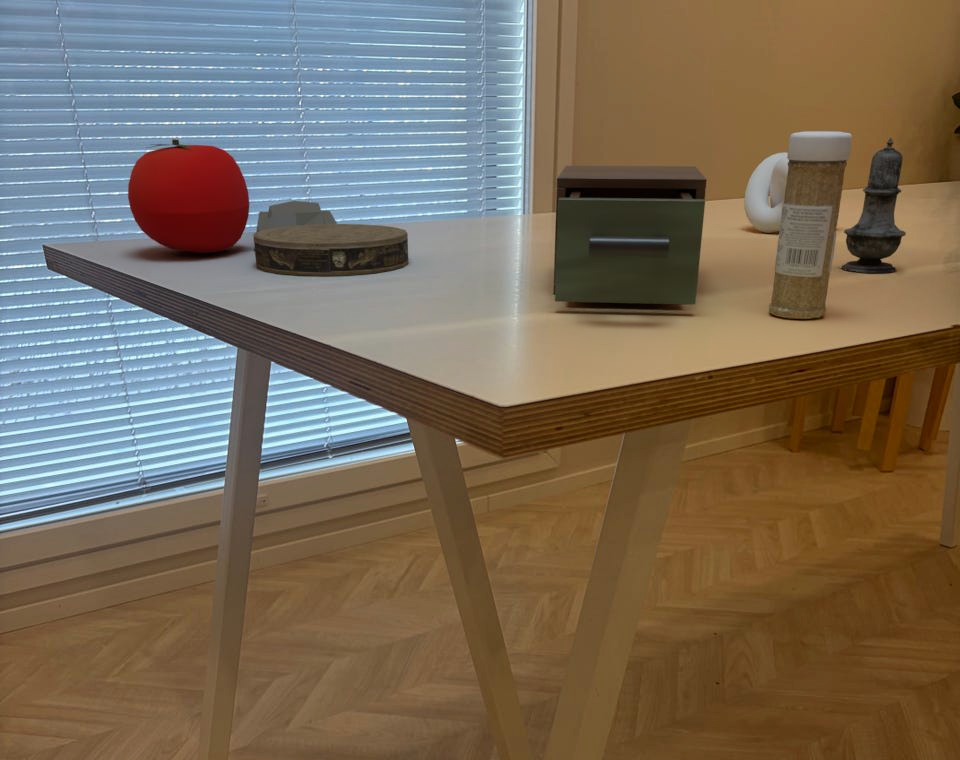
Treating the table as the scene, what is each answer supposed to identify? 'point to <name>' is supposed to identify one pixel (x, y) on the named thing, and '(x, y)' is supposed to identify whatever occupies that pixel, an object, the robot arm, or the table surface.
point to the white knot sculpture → (767, 193)
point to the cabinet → (628, 182)
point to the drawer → (628, 246)
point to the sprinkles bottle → (809, 223)
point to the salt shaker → (877, 216)
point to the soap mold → (293, 215)
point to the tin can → (331, 249)
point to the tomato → (189, 197)
